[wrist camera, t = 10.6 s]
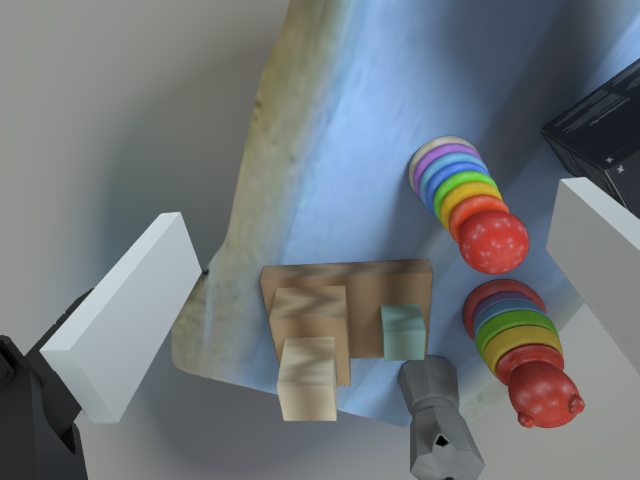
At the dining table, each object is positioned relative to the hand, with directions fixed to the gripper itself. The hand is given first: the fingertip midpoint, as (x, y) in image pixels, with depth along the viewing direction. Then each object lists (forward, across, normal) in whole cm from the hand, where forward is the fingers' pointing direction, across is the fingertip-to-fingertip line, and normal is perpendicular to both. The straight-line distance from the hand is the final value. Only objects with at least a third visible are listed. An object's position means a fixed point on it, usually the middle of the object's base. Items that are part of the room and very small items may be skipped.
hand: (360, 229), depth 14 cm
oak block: (+21, -8, -30) cm, 38 cm away
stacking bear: (+31, +17, -32) cm, 48 cm away
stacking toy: (+31, +9, -11) cm, 34 cm away
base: (+30, -4, -30) cm, 43 cm away
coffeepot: (+31, +8, -47) cm, 57 cm away
